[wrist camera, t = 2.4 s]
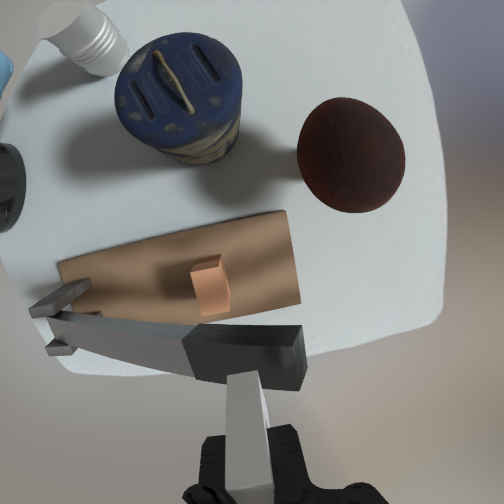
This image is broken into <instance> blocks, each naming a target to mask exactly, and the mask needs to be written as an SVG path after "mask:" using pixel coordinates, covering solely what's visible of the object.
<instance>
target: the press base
mask: <svg viewBox="0 0 504 504" xmlns="http://www.w3.org/2000/svg"><path fill="white" fill-rule="evenodd" d="M58 266H59V270H60V273H61V276H62V279H63V282H64V285H63V286H62V287H60V288H59V289H57V290H56V291H54V292H52V293H51V294H49V295H48V296H46V297H45V298H43V299H42V300H41V301H39V302H38V303H36V304H35V305H33V306H32V307H30V308H29V312H30V314H31V317H32V318H39V317H46V316H53V315H55V314H56V313H58V312H59V311H60V310H61V309H63V308H64V307H65V306H66V305H68V304H69V303H70V302H71V305H72V308H73V310H74V312H75V313H81V314H88V315H95V316H103V317H111V318H119V319H128V320H137V321H148V322H159V323H171V324H185V325H197V324H199V323H208V322H214V321H219V320H225V319H230V318H235V317H241V316H246V315H251V314H256V313H260V312H265V311H270V310H275V309H279V308H284V307H288V306H293V305H297V304H301V299H300V292H299V286H298V279H297V273H296V266H295V260H294V254H293V248H292V242H291V236H290V231H289V225H288V219H287V214H286V211H285V210H279V211H274V212H269V213H264V214H259V215H254V216H249V217H244V218H239V219H234V220H230V221H225V222H220V223H215V224H211V225H206V226H202V227H197V228H193V229H188V230H184V231H179V232H175V233H171V234H166V235H162V236H158V237H154V238H150V239H145V240H141V241H137V242H133V243H129V244H125V245H121V246H117V247H113V248H109V249H105V250H101V251H98V252H94V253H90V254H86V255H82V256H79V257H75V258H71V259H68V260H64V261H62V262H60V263H58ZM45 349H46V351H47V353H48V354H49V356H67V355H72V354H73V353H74V352H75V351H76V350H77V349H78V347H75V346H72V345H69V344H67V343H64V342H57V341H56V339H55V338H54V339H53V340H52V341H51V342H50V343H49V344H48V345H47V346H46V347H45Z"/></svg>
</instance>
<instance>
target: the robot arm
mask: <svg viewBox="0 0 504 504" xmlns="http://www.w3.org/2000/svg"><path fill="white" fill-rule="evenodd" d="M13 69H14V66H13V62H12V60H11V59H10V58H9V57H8V56H6V55H5V54H4V53H3V52H1V51H0V100H1V97H2V92H3V91H4V89H5V87H6V85H7V83H8V81H9V79H10V77H11V76H12V73H13ZM25 192H26V173H25V167H24V162H23V159H22V157H21V155H20V153H19V151H18V150H17V149H16V148H15V147H14V146H13V145H11V144H6V143H0V233H3V232H6V231H8V230H9V229H11V228H12V227H13V226H14V224H15V223H16V221H17V220H18V218H19V216H20V213H21V211H22V207H23V204H24V199H25ZM226 400H227V401H226V435H221V436H211V437H207V438H206V440H205V442H204V443H203V445H202V450H201V460H200V464H201V465H200V472H199V483H198V484H195V485H193V486H191V487H189V488H188V489H187V490H186V491H185V492H184V494H183V497H182V498H183V499H184V500H185V501H186V502H187V504H389V503H388V502H387V501H386V500H385V499H384V498H383V496H381V494H380V493H379V492H378V491H377V490H376V489H375V488H374V487H373V486H372V485H370V484H368V483H364V482H360V483H353V484H351V485H348V486H347V487H345V488H344V489H322V488H319V487H317V486H315V485H314V484H312V482H311V481H310V479H309V477H308V473H307V469H306V465H305V461H304V457H303V453H302V449H301V445H300V442H299V437H298V433H297V431H296V430H295V429H294V428H293V427H292V425H291V424H287V425H282V426H277V427H272V428H270V426H269V420H268V413H267V407H266V403H265V399H264V395H263V391H262V387H261V383H260V379H259V375H258V371H257V370H255V371H250V372H244V373H239V374H233V375H227V399H226Z"/></svg>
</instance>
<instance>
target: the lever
mask: <svg viewBox="0 0 504 504" xmlns="http://www.w3.org/2000/svg"><path fill="white" fill-rule="evenodd" d="M46 318H47V320H48V323H49V325H50V327H51V330H52V332H53V334H54V337H55V339H56V341H57V342H64V343H67V344H69V345H72V346H75V347H78V348H81V349H84V350H87V351H90V352H93V353H96V354H100V355H103V356H106V357H110V358H113V359H117V360H120V361H124V362H128V363H132V364H135V365H139V366H143V367H148V368H152V369H156V370H161V371H165V372H170V373H175V374H180V375H186V376H191V377H195V378H196V380H202V381H208V382H215V383H220V384H227V375H233V374H239V373H244V372H250V371H255V370H257V371H258V375H259V379H260V383H261V387H262V389H272V390H286V391H300V388H301V385H302V383H303V380H304V377H305V374H306V371H307V368H308V367H307V359H306V351H305V344H304V337H303V329H302V325H226V324H202V323H199V324H198V325H185V324H171V323H159V322H148V321H137V320H128V319H119V318H111V317H103V316H95V315H88V314H81V313H75V312H68V311H62V310H60V311H59V312H58V313H56V314H55V315H53V316H46Z"/></svg>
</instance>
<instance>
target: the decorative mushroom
mask: <svg viewBox="0 0 504 504" xmlns="http://www.w3.org/2000/svg"><path fill="white" fill-rule="evenodd" d="M297 160H298V164H299V168H300V171H301V174H302V177H303V179H304V181H305V183H306V185H307V186H308V188H309V189H310V190H311V192H312V193H313V194H314V195H315V196H316V197H317V198H318V199H319V200H320V201H321V202H323V203H324V204H326V205H327V206H329V207H331V208H333V209H335V210H338V211H340V212H347V213H364V212H369V211H372V210H375V209H377V208H379V207H381V206H382V205H384V204H385V203H386V202H388V201H389V200H390V199H391V197H392V196H393V195H394V194H395V192H396V191H397V189H398V187H399V186H400V184H401V181H402V178H403V176H404V171H405V151H404V147H403V142H402V140H401V138H400V136H399V134H398V133H397V131H396V130H395V128H394V127H393V126H392V124H391V123H390V122H389V121H388V120H387V119H386V118H385V117H384V116H383V115H382V114H381V113H380V112H379V111H378V110H376V109H375V108H373V107H372V106H370V105H368V104H366V103H364V102H362V101H359V100H357V99H352V98H345V97H338V98H333V99H329V100H327V101H325V102H323V103H321V104H320V105H319V106H317V107H316V108H315V109H314V110H313V111H312V112H311V113H310V114H309V116H308V117H307V119H306V120H305V122H304V124H303V127H302V129H301V132H300V136H299V140H298V145H297Z"/></svg>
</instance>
